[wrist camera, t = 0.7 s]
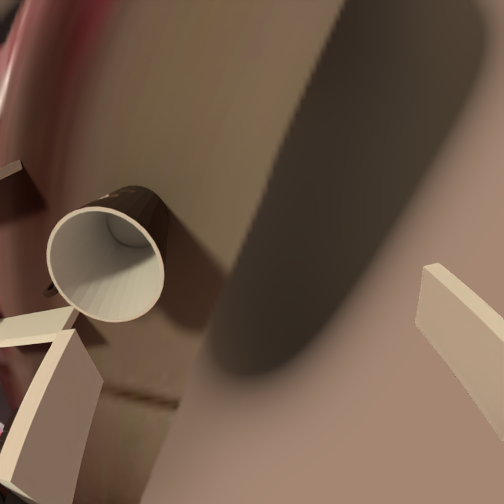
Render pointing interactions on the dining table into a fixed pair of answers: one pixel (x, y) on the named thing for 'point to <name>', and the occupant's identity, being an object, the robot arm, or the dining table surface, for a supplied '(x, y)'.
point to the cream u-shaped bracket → (35, 324)
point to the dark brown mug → (111, 255)
